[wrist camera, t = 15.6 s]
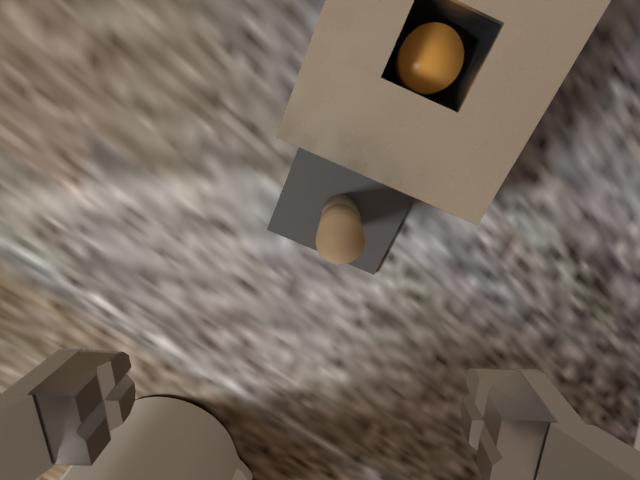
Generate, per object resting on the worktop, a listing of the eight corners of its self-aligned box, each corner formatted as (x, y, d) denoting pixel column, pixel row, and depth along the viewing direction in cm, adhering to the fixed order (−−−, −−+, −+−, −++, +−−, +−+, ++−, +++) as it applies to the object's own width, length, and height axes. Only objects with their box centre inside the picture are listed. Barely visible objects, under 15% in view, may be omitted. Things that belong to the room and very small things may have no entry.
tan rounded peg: (358, 229, 30) (363, 265, 22) (322, 229, 30) (315, 264, 22) (359, 194, 29) (365, 218, 21) (322, 193, 29) (315, 217, 21)
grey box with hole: (449, 204, 29) (477, 225, 23) (291, 134, 28) (275, 136, 22) (568, -9, 24) (643, -55, 18) (379, -102, 23) (391, -182, 17)
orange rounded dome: (436, 105, 25) (444, 103, 23) (384, 81, 25) (387, 77, 23) (466, 45, 24) (476, 38, 22) (411, 20, 23) (417, 11, 22)
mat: (373, 272, 31) (374, 274, 31) (268, 228, 31) (267, 229, 30) (416, 189, 29) (417, 190, 28) (302, 139, 28) (302, 139, 28)
